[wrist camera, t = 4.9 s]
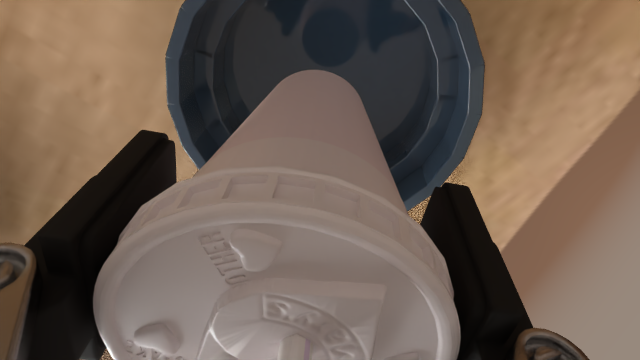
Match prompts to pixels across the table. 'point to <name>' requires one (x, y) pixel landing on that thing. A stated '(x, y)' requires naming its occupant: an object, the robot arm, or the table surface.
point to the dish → (338, 58)
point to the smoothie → (281, 249)
